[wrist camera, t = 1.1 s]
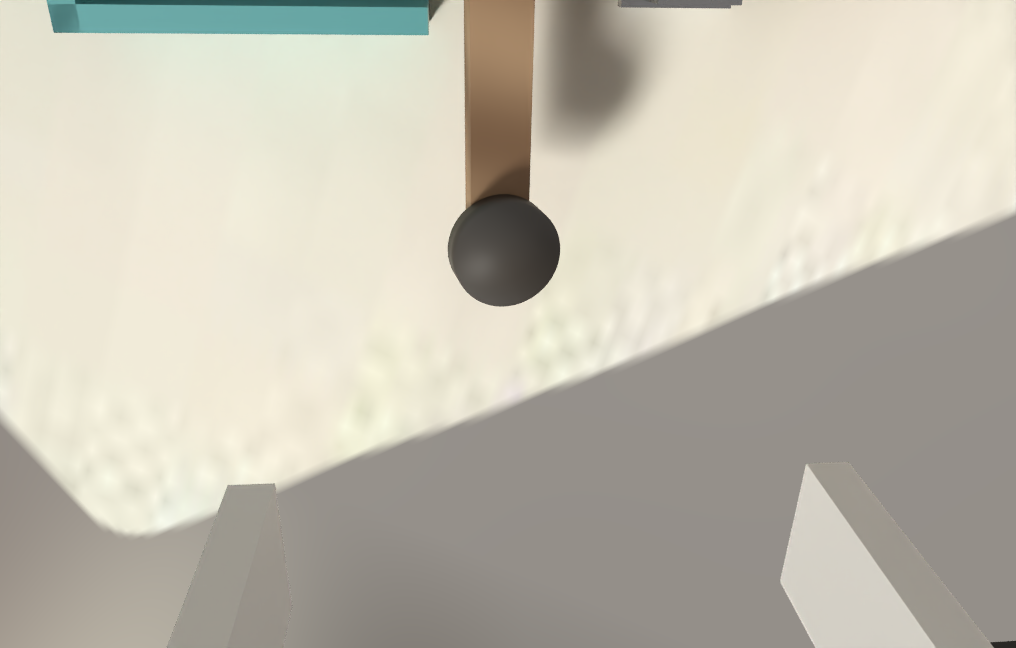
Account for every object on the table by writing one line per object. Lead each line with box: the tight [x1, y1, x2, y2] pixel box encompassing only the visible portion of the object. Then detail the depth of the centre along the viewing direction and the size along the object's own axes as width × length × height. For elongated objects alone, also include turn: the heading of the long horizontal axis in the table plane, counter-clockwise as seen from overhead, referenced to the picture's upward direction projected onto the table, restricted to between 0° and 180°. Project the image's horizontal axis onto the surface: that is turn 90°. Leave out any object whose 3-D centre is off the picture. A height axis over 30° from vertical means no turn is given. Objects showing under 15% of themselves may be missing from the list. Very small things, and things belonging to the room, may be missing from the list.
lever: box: [448, 0, 560, 306], centre depth 26 cm, size 17×17×4 cm
